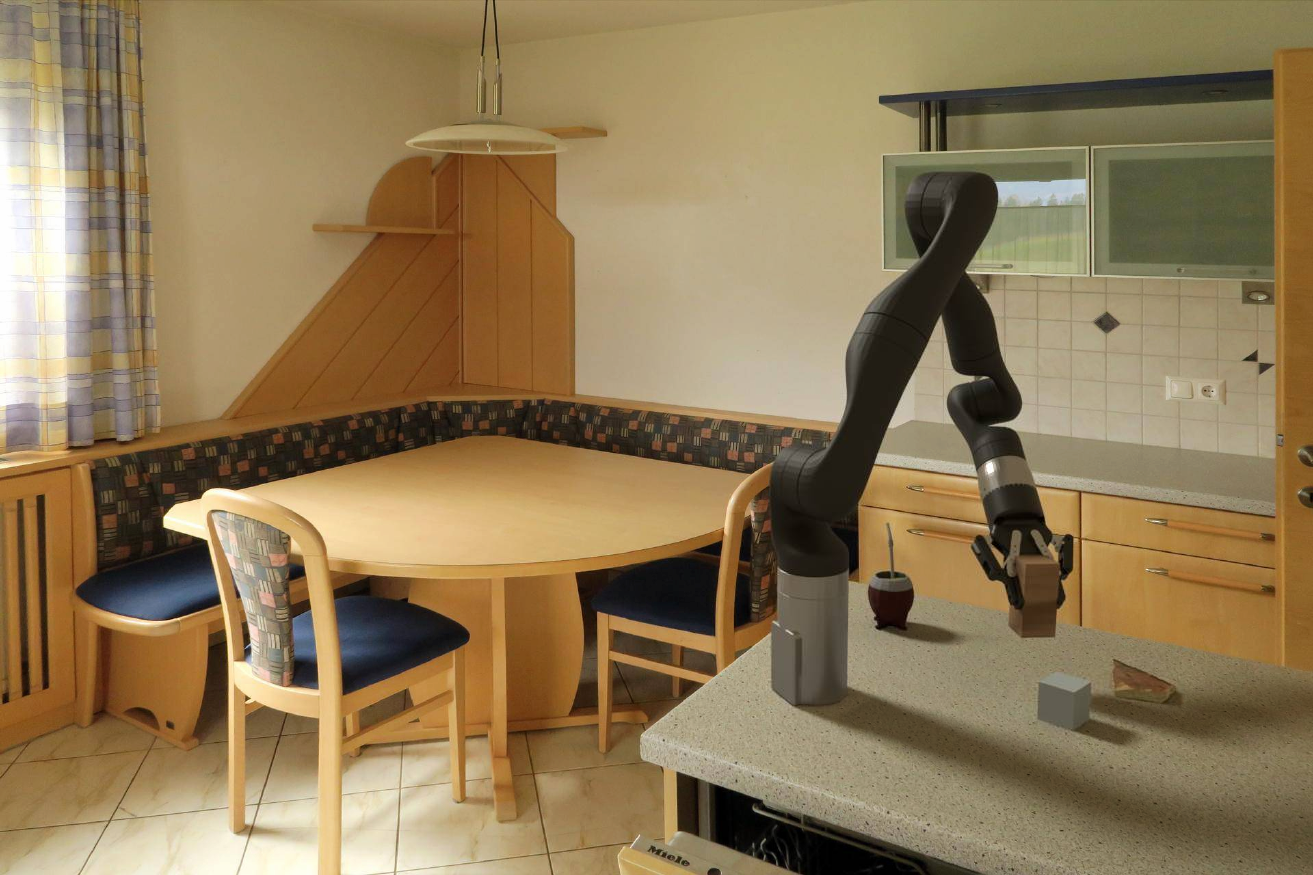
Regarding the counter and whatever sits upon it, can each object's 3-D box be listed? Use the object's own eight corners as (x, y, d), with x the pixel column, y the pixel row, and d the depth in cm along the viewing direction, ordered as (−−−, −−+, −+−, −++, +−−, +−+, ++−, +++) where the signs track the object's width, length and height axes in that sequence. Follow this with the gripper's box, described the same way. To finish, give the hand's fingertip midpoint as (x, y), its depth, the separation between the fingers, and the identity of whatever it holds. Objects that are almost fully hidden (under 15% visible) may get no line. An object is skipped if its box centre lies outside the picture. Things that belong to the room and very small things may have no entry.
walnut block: (1055, 637, 134) (1060, 563, 133) (1021, 637, 134) (1025, 564, 133) (1040, 625, 139) (1045, 553, 137) (1008, 625, 139) (1012, 554, 137)
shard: (1112, 668, 143) (1113, 656, 143) (1173, 676, 140) (1174, 664, 140) (1111, 699, 134) (1111, 686, 133) (1176, 708, 131) (1177, 695, 130)
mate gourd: (892, 636, 156) (894, 540, 153) (853, 622, 162) (855, 530, 159) (924, 625, 160) (927, 532, 157) (885, 611, 166) (887, 522, 164)
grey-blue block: (1072, 731, 124) (1074, 692, 123) (1037, 719, 127) (1038, 681, 127) (1089, 719, 127) (1091, 681, 126) (1054, 708, 130) (1056, 671, 130)
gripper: (966, 481, 140) (994, 594, 131) (1068, 480, 141) (1104, 592, 131) (951, 510, 147) (977, 620, 137) (1050, 509, 147) (1082, 618, 137)
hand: (1039, 606), depth 134 cm, fingers closed on walnut block, 4 cm apart
